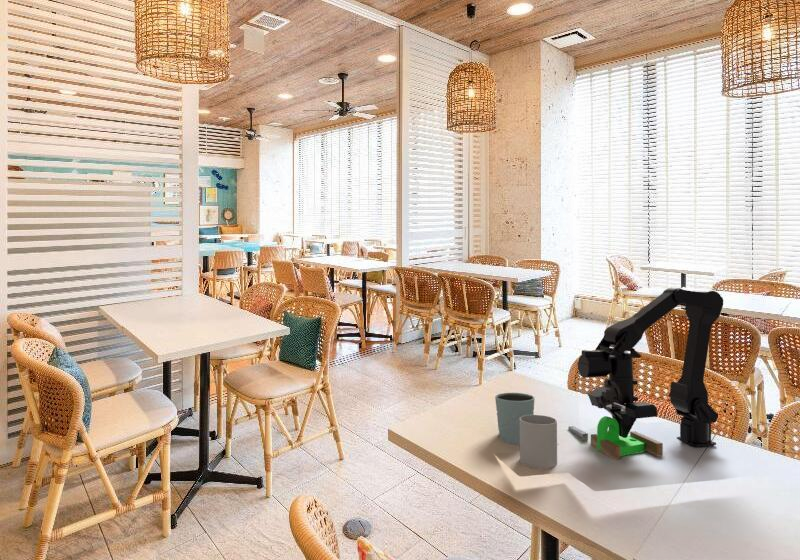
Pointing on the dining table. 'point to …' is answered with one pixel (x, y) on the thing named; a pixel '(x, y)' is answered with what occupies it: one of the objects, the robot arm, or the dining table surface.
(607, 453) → the beam rails
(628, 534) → the dining table surface
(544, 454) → the cup
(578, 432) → the u-shaped bracket
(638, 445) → the mechanical part
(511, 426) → the teal tapered tumbler
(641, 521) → the dining table surface
